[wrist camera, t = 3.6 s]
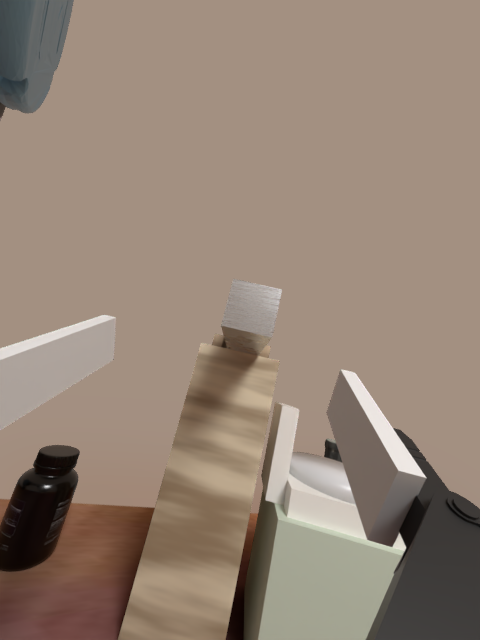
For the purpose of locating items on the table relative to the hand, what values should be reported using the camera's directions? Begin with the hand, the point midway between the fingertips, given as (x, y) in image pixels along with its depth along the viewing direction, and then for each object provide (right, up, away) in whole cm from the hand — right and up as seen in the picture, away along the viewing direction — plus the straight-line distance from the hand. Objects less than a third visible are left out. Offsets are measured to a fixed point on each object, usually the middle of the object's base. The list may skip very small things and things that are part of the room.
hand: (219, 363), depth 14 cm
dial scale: (+12, -20, +16) cm, 28 cm away
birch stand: (-5, -32, +18) cm, 37 cm away
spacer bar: (+2, -2, +19) cm, 19 cm away
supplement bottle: (-26, -27, +17) cm, 41 cm away
